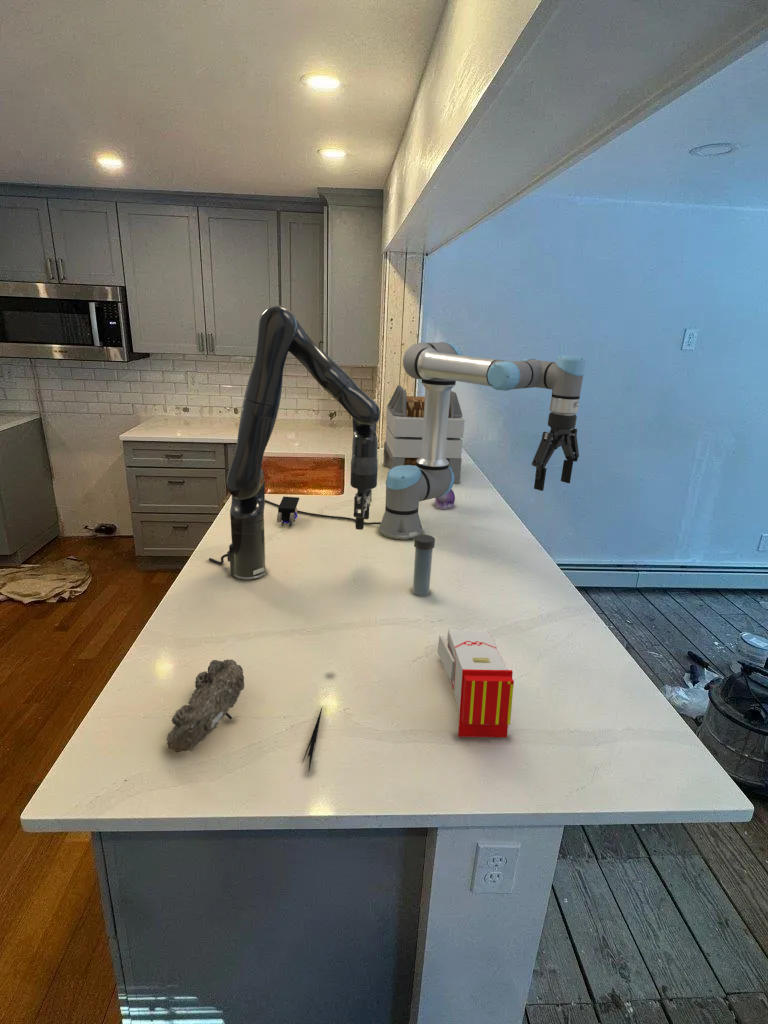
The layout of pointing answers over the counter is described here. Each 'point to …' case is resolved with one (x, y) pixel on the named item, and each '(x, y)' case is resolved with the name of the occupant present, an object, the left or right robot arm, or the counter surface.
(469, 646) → the toy
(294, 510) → the figurine character
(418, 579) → the grey cylinder
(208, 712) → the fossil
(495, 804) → the counter surface
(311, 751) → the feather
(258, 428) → the left robot arm
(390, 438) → the grey slatted wooden crate
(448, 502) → the figurine
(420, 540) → the lid
